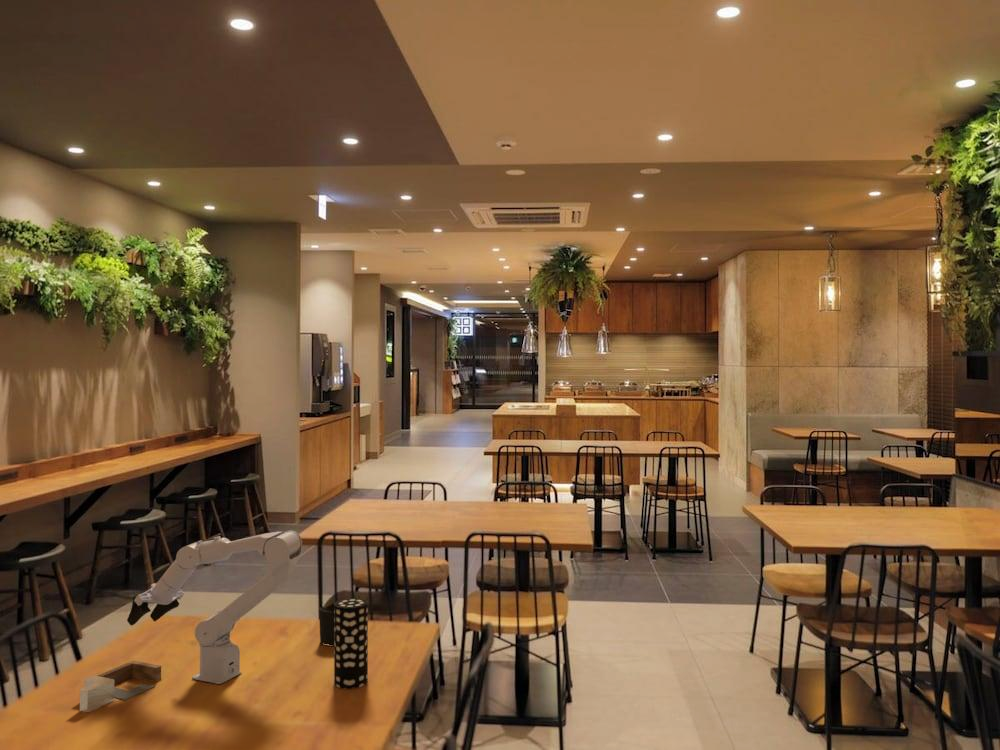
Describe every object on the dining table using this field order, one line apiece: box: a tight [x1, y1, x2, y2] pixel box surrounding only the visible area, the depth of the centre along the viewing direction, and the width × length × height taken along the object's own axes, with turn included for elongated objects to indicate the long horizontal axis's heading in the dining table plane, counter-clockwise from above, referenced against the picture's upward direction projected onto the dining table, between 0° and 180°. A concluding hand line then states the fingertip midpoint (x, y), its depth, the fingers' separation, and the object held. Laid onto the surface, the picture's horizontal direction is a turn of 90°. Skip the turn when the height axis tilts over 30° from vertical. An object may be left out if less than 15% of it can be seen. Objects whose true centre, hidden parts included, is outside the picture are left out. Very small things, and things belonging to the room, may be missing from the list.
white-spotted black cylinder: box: [333, 597, 369, 690], centre depth 181 cm, size 8×8×20 cm
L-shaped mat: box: [114, 682, 156, 701], centre depth 176 cm, size 8×8×1 cm
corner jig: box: [96, 660, 162, 686], centre depth 179 cm, size 10×10×4 cm
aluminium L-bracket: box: [79, 674, 115, 713], centre depth 168 cm, size 7×7×5 cm
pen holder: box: [318, 602, 335, 645], centre depth 210 cm, size 9×9×10 cm
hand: (141, 620), depth 187 cm, fingers open, 7 cm apart
